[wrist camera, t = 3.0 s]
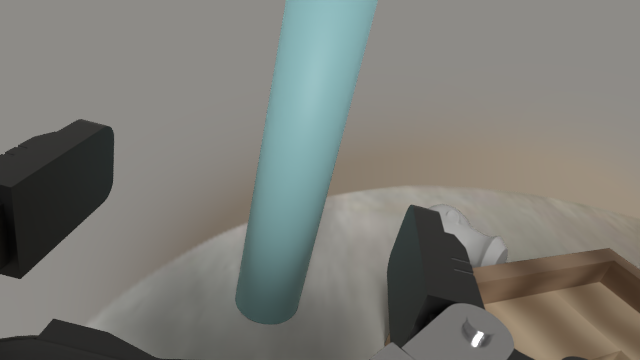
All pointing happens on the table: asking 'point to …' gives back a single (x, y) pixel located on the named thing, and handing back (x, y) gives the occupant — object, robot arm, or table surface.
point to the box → (566, 305)
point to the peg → (299, 149)
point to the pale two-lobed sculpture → (472, 238)
